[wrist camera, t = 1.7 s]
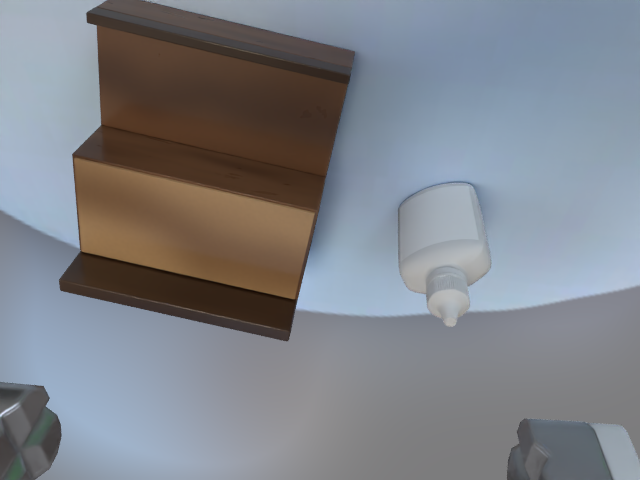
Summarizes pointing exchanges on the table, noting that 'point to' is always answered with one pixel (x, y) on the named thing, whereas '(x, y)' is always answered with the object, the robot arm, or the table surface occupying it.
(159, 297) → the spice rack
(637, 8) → the table surface
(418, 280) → the eye dropper bottle
